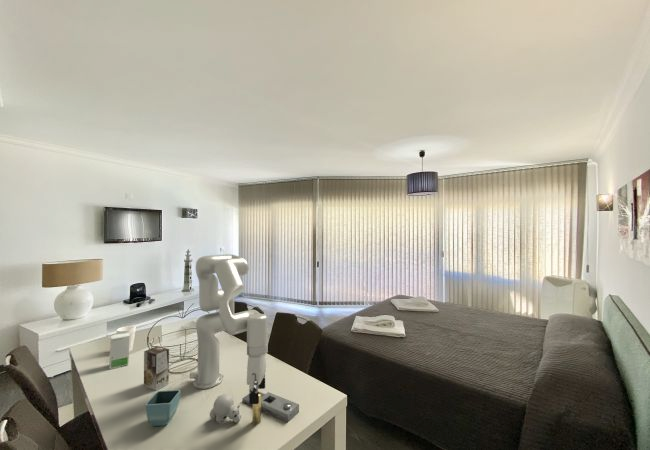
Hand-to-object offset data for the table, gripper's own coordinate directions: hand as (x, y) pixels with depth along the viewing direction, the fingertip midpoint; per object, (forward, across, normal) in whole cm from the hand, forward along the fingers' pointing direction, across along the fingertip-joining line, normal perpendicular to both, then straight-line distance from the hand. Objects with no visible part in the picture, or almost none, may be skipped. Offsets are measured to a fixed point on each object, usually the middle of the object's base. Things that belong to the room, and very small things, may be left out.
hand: (257, 395), depth 101 cm
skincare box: (+8, -44, -86) cm, 96 cm away
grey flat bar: (+10, -10, +2) cm, 14 cm away
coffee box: (+9, -25, -54) cm, 60 cm away
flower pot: (+9, -1, -36) cm, 37 cm away
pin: (+10, -1, -1) cm, 10 cm away
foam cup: (+7, -62, -96) cm, 114 cm away
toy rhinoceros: (+10, -2, -12) cm, 16 cm away
